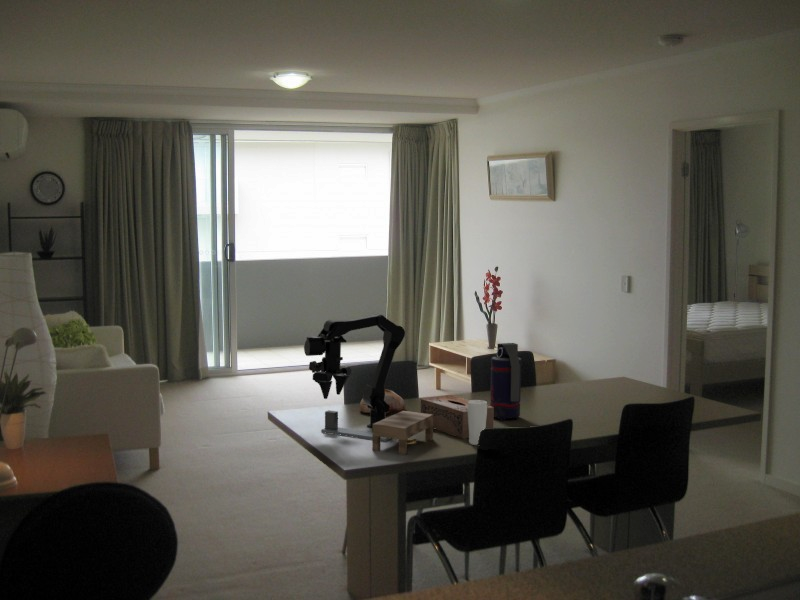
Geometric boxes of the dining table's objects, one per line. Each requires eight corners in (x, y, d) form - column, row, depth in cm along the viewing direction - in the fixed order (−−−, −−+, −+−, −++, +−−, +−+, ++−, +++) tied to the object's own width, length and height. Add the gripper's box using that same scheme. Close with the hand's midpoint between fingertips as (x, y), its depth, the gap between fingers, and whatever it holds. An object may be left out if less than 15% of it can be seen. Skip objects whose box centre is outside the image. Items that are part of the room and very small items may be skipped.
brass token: (403, 440, 296) (404, 436, 296) (419, 442, 294) (419, 439, 294) (396, 444, 291) (396, 440, 291) (411, 446, 288) (411, 443, 288)
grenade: (484, 415, 335) (486, 341, 332) (510, 413, 339) (512, 340, 336) (501, 423, 322) (503, 346, 319) (528, 420, 326) (530, 345, 324)
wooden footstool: (402, 435, 302) (403, 410, 301) (432, 439, 297) (433, 414, 296) (372, 450, 282) (372, 424, 281) (404, 454, 276) (404, 428, 275)
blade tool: (329, 429, 310) (329, 409, 309) (393, 438, 298) (393, 417, 298) (321, 433, 304) (321, 412, 304) (385, 442, 293) (386, 420, 292)
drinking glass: (469, 440, 296) (470, 399, 294) (487, 442, 294) (488, 400, 292) (465, 445, 289) (466, 403, 288) (484, 447, 287) (485, 404, 286)
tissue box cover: (420, 424, 320) (420, 398, 319) (449, 419, 328) (450, 394, 327) (462, 439, 299) (463, 411, 298) (493, 433, 307) (493, 407, 306)
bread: (351, 412, 341) (350, 388, 341) (389, 406, 353) (388, 383, 353) (375, 418, 328) (374, 392, 328) (413, 411, 340) (413, 387, 340)
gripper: (326, 349, 315) (325, 390, 317) (300, 355, 298) (299, 398, 300) (352, 352, 310) (351, 393, 312) (327, 358, 294) (326, 402, 295)
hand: (331, 396), depth 305 cm, fingers open, 9 cm apart
